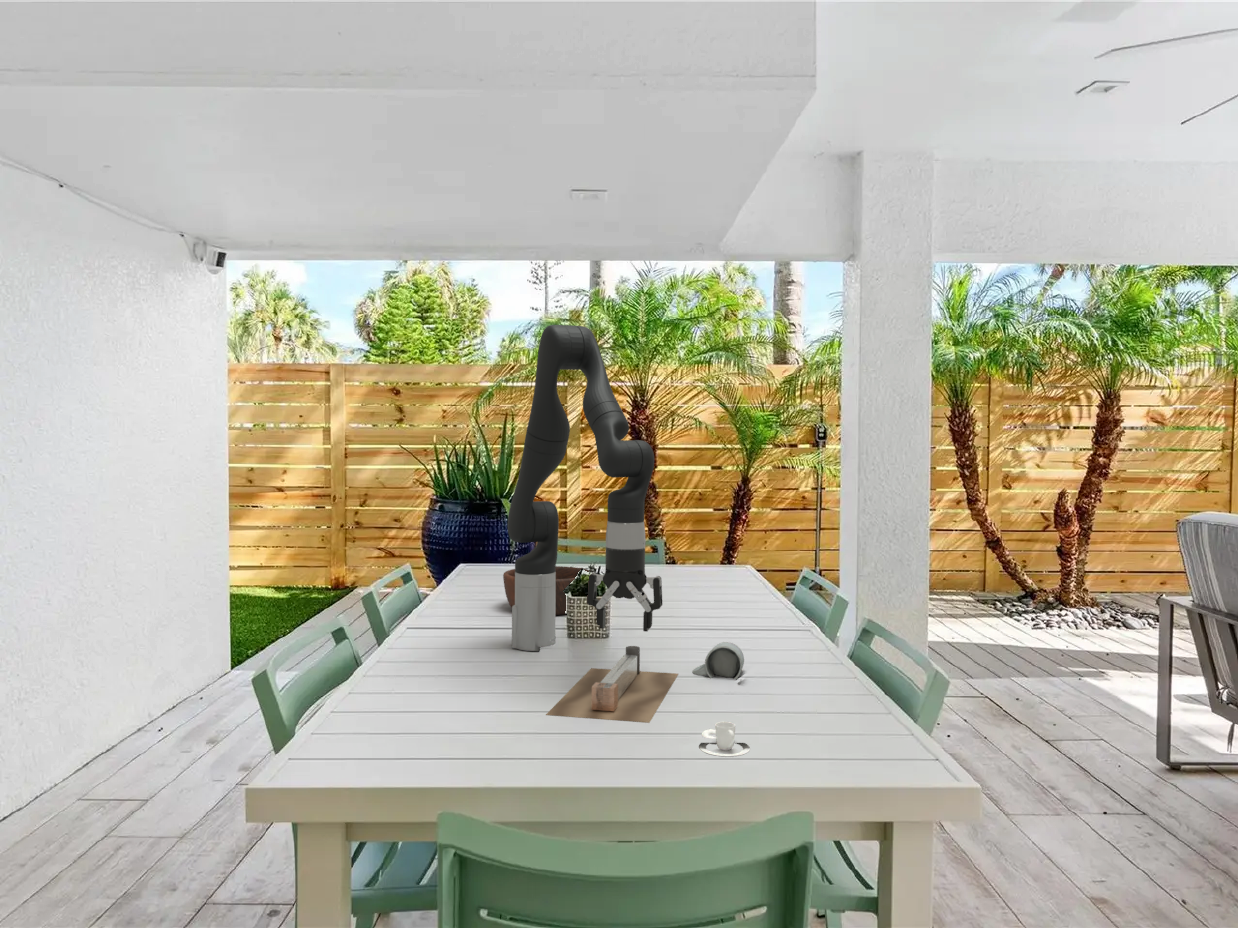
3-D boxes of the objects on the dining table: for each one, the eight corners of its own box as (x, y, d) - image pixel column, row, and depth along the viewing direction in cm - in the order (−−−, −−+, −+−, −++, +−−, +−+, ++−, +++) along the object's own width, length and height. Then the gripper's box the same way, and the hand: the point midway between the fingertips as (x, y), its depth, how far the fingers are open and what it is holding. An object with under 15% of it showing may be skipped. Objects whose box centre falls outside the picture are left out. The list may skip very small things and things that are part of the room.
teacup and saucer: (697, 739, 151) (697, 714, 151) (746, 740, 151) (746, 715, 151) (700, 758, 142) (700, 732, 142) (752, 759, 142) (753, 733, 142)
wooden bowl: (611, 607, 262) (611, 570, 261) (558, 622, 241) (558, 582, 240) (540, 598, 275) (540, 563, 275) (484, 611, 254) (484, 574, 254)
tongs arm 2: (631, 674, 185) (631, 654, 184) (640, 675, 184) (641, 655, 184) (602, 710, 161) (602, 687, 161) (614, 711, 161) (614, 688, 161)
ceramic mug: (745, 674, 190) (744, 638, 190) (742, 684, 182) (741, 647, 182) (695, 672, 192) (694, 636, 192) (690, 682, 184) (689, 645, 184)
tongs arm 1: (620, 674, 185) (620, 654, 185) (630, 674, 185) (630, 654, 184) (591, 709, 162) (591, 686, 161) (602, 710, 161) (602, 687, 161)
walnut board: (545, 720, 159) (545, 684, 159) (591, 672, 190) (591, 642, 190) (649, 728, 155) (649, 691, 155) (678, 678, 187) (678, 647, 186)
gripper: (584, 545, 176) (583, 631, 176) (658, 549, 173) (657, 636, 173) (593, 540, 183) (592, 622, 184) (665, 543, 180) (664, 627, 181)
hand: (624, 629), depth 179 cm, fingers open, 8 cm apart
